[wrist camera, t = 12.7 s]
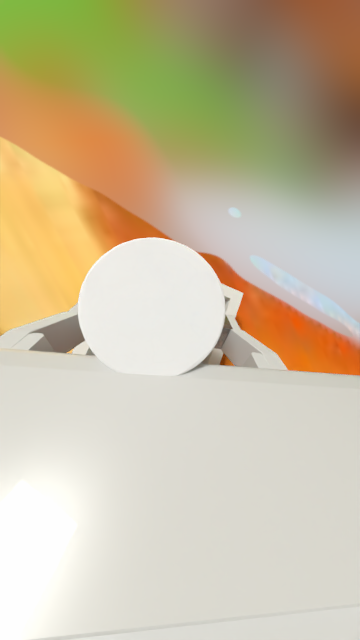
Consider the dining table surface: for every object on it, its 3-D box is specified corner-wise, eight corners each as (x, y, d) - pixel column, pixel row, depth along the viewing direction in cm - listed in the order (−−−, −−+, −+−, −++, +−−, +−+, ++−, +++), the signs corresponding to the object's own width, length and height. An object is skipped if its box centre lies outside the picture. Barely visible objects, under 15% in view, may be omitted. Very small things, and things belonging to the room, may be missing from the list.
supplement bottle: (195, 346, 17) (282, 380, 4) (143, 362, 16) (63, 459, 4) (181, 296, 18) (222, 196, 5) (129, 308, 17) (18, 226, 4)
